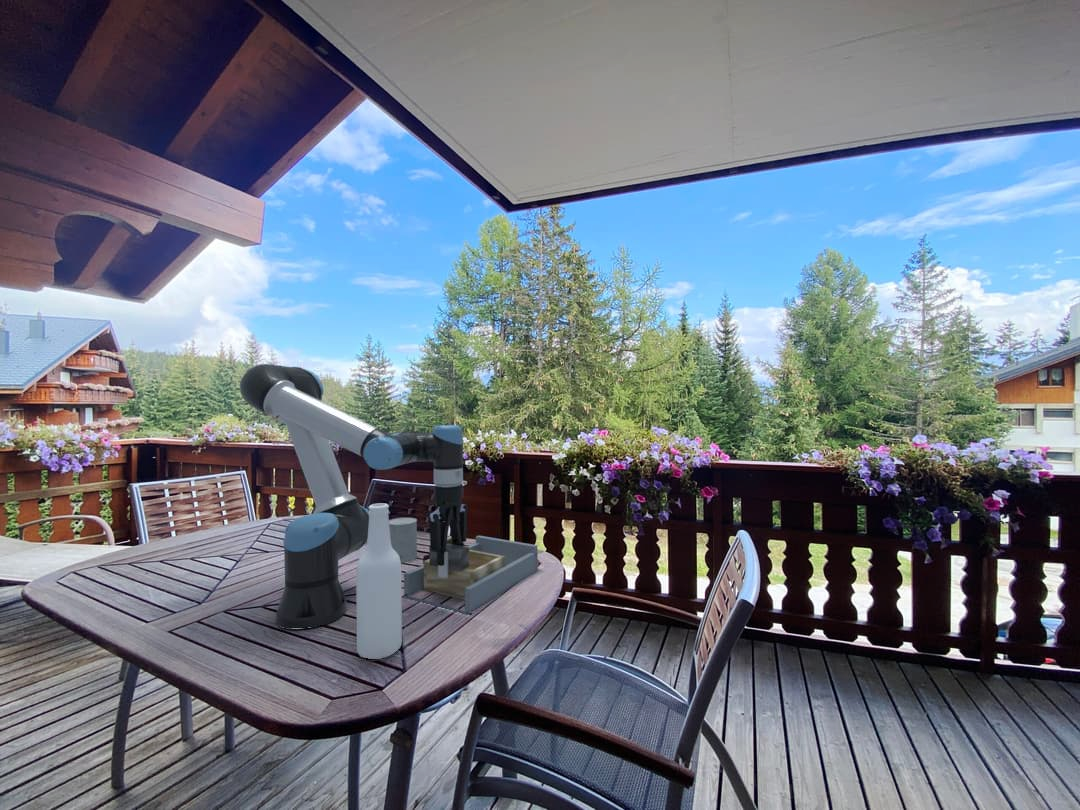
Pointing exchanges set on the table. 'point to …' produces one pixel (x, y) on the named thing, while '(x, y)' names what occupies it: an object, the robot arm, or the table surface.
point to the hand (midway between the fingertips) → (449, 573)
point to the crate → (460, 570)
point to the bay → (517, 567)
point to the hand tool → (429, 555)
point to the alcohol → (379, 590)
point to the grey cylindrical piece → (404, 537)
